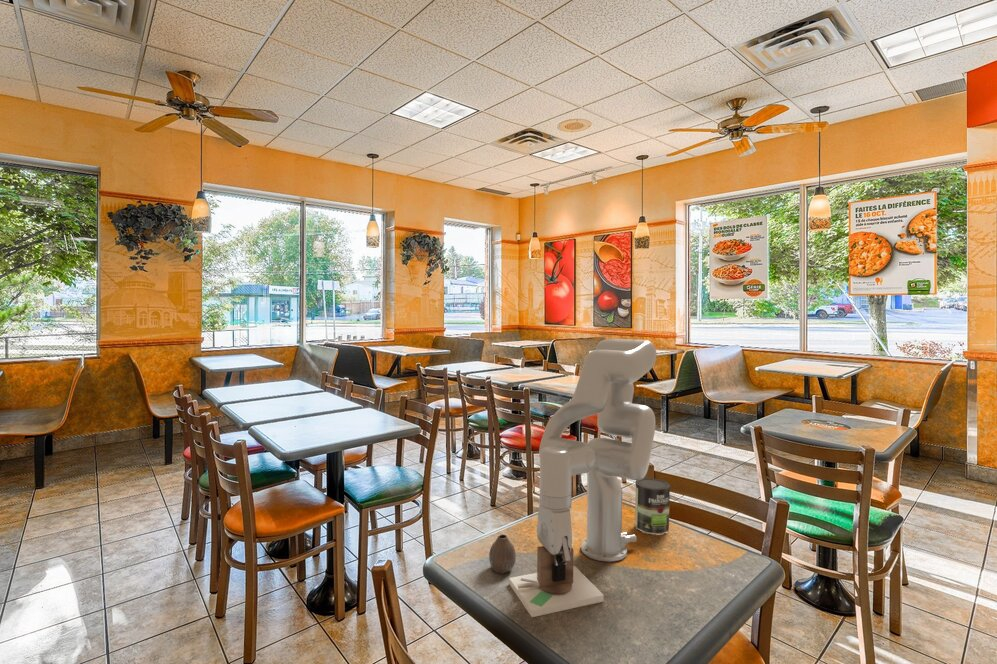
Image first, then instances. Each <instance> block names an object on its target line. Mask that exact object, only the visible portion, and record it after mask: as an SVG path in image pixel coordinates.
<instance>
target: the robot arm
mask: <svg viewBox="0 0 997 664" xmlns="http://www.w3.org/2000/svg"><path fill="white" fill-rule="evenodd" d="M657 354H658V353H657V349H656V346H655V344H653V342H652V341H649V340H644V339H628V338H627V339H626V338H625V339H624V338H608V339H602V340H601V341H599V342H598V343H597V344H596V347H595V349H594V350H592V351H591V352H589V353H587V356H586V357H585V359H584V362H583V365H582V369H581V372H580V375H579V377H578V381H577V384H576V387H575V389H574V393H573V396H572V397H571V399H570V400H569V401H567V402H566V403H565V404H564V405H562V406H561V407H559V409H557V411H556V412H555V413H554V414H552V416H551V417H550V418H549V420H548V421H547V423H546V426H545V428H544V431H543V434H542V437H541V439H540V443H539V444H540V445H539V450H538V454H539V498H538V499H539V500H538V501H539V505H538V512H537V525H536V537H537V540H538V541H539V543H540V544H541V545H542V546H544V547H545V548H546V549H547V550H548V551H549V552H550V553H551V554H552V555H553V558H554V564H552V581H553V582H557V581H562V580H565V565H566V563H567V561H570V554H569V552H570V551H571V547H572V546H573V545H572V544H573V532H572V531H573V529H572V515H571V509H572V494H573V493H572V489H573V487H572V483H573V482H572V481H573V480H572V479H573V478H572V477H573V476H577V475H583V474H586V478H587V479H586V482H587V486H586V487H587V492H586V493H587V498H586V499H587V500H586V504H587V505H586V507H587V508H586V539H584V540H583V541H582V542H581V544H580V549H581V552H582V553H583V554H584V555H585V556H587V557H588V558H590V559H592V560H596V561H600V562H618V561H621V560H623V559H625V558H626V556H627V555H628V547H627V546H626V545H628V543H635V542H637V540H638V539H637V535H636V534H633V533H632V534H629V535H628V533H627V532H626V531H625V532H623V528H622V527H623V524H622V523H623V488H622V485H621V482H620V480H619V478H622V479H626V480H632V481H636V480H641V479H643V478H646V476H647V473H648V470H649V466H650V460H651V456H652V455H651V454H652V449H653V445H654V444H653V443H654V438H655V434H656V433H655V431H656V416H655V412H654V411H653V409H652V408H651V407H649V406H647V405H644V404H639V403H633V398H634V392H635V387H634V383H635V382H637V381H638V380H641V378H643V376H645V375H646V374H647V373H648V372H650V371H651V370H652V369H653V367H654V365H655V363H656V361H657ZM594 415H597V420H596V421H597V422H596V423H597V424H596V425H597V428H598V430H599V431H600V432H602V433H604V434H607V435H611V436H616V437H622V438H627V439H631V442H629V441H628V442H627V441H623V440H622V441H621V440H618V439H612V438H608V437H607V438H605V437H595V438H592V439H590V440H589V441H588V442H584V441H580V440H574V439H569V438H564V437H562V435H563V434H564V432H565V430H566V429H567V428H569V426H571V424H573V423H575V422H577V421H579V420H583V419H585V418H588V417H589V418H590V417H591V416H594ZM572 548H573V547H572ZM560 549H561V550H560ZM559 554H562V556H561V557H559V558H558V556H557V555H559Z"/></svg>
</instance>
